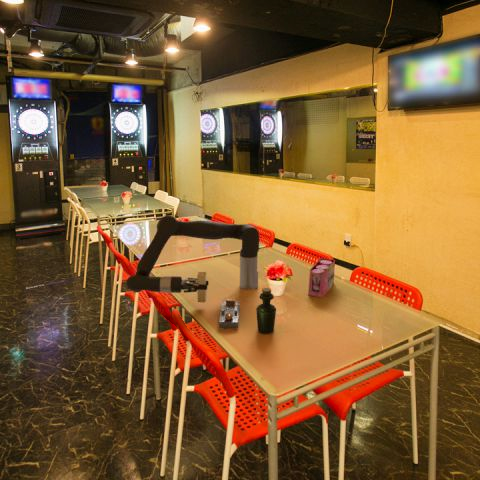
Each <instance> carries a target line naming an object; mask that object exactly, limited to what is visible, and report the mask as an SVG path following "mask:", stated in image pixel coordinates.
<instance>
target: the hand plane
mask: <svg viewBox="0 0 480 480" xmlns="http://www.w3.org/2000/svg"><path fill="white" fill-rule="evenodd" d="M239 320H240V301H236V298H234V297H233V298H232V297H231V298H229V297H228V298H226V299H225V301H222V302H221V308H220V314H219V321H218V329H219V328H238V329H239V324H240V323H239V322H240V321H239Z"/></svg>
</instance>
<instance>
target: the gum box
mask: <svg viewBox="0 0 480 480" xmlns="http://www.w3.org/2000/svg"><path fill="white" fill-rule="evenodd" d="M335 263H336V260H335V259H329V258H320V259H319V260H318V261H317V262H316V263H315V264H314V265H313V266H312V267H311V268H310V269H309V278H308V279H309V280H308V293H307V295H308V296H313V297H318V298H324V297H325V296H326V295H327V293H328V292H329V290H330V289H331V288H332V287H333V285H334V284H335V283H334V282H335V265H336V264H335Z"/></svg>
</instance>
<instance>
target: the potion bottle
mask: <svg viewBox="0 0 480 480" xmlns="http://www.w3.org/2000/svg"><path fill="white" fill-rule="evenodd" d="M258 298H259V299H260V300H261V302H262V303H260V304H258V305H257V306H256V309H255V310H256V312H255V313H256V323H257V331H258V332H259V333H260V334H262V335H263V334H264V335H270V334H272V333H273V332H274V331H275V324H276V323H275V322H276V315H277V308H276V307H275V305H273V304H272V303H271V301H272V300H274V298H275V297H274V295H273V293H272V289H271V288H270V287H263V288H262V289H261V293H260V295H259V297H258Z"/></svg>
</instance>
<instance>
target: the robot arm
mask: <svg viewBox="0 0 480 480" xmlns="http://www.w3.org/2000/svg"><path fill="white" fill-rule="evenodd" d="M171 237H189V238H195V239H200V240H201V239H202V240H212V241H213V240H214V241H215V240H217V241H218V240H223V239H235V240H240V241H241V249H240V251H239V288H241V289H242V290H254V289H258V288H259V270H258V253H259V250H260V232H259V230H258V229H257V228H256V227H255V226H253V225H251V224H248V223H245V224H243V223H242V224H240V223H239V224H235V223H232V224H230V223H225V222H220V221H212V220H192V221H182V220H178V219H176V217H175V216H173V215H168V214H167V215H164V216H163V217H161V218H160V220H159V221H158V222H157V224H156V233H155V235H154V236H153V239H152V240H151V241H150V244H149V245H148V247H147V248H146V249H145V250H144V252H143V255H142V256H141V257H140V259H139V261H138V263H137V266H136V271H135V274H133V275H130V276H129V277H127V279H126V281H125V282H126V283H125V284H126V287H127V288H128V289H129V290H130V291H132V292H133V293H140V292H142V291H149V292H151V293H152V292H153V293H167V294H168V293H169V294H171V293H172V294H175V293H176V294H181V293H182V291H183V293H198V290H206V291H207V290H208V286H209V280H206V285H198V284H197V277H187V279H183V277H182V276H177V275H176V276H175V275H173V276H172V275H171V276H150V274H151V272H152V271H153V269H154V267H155V265H156V263H157V261H158V259H159V257H160V256H161V253H162V252H163V250H164V248H165V246H166V244H167V242H169V240H170V238H171Z"/></svg>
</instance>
